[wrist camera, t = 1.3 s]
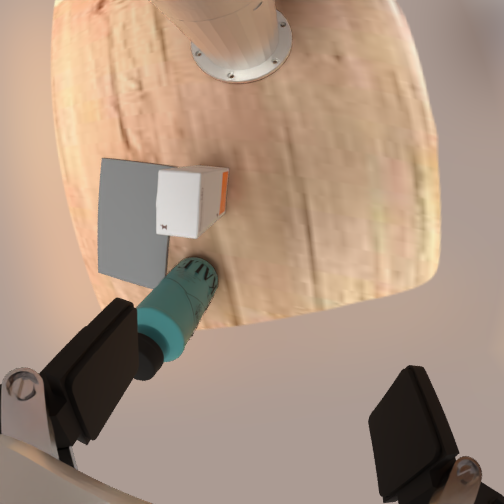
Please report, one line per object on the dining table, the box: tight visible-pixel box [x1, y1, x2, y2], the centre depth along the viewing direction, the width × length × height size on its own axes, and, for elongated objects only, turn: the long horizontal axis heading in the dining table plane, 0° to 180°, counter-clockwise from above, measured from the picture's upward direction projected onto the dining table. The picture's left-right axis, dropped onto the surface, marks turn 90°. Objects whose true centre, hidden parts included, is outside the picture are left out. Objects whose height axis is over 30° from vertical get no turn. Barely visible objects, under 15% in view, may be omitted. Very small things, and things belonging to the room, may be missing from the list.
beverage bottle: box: [134, 257, 218, 381], centre depth 30 cm, size 6×7×20 cm
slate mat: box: [98, 158, 178, 289], centre depth 38 cm, size 18×12×1 cm, turn 169°
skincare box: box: [156, 165, 229, 239], centre depth 30 cm, size 6×4×12 cm
